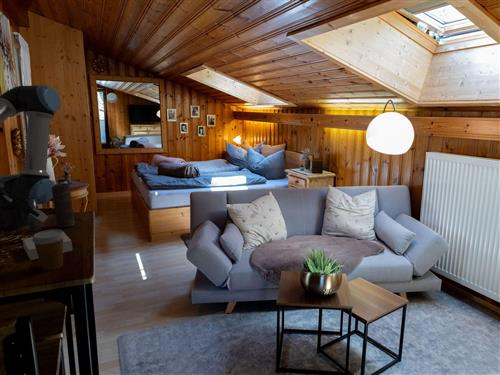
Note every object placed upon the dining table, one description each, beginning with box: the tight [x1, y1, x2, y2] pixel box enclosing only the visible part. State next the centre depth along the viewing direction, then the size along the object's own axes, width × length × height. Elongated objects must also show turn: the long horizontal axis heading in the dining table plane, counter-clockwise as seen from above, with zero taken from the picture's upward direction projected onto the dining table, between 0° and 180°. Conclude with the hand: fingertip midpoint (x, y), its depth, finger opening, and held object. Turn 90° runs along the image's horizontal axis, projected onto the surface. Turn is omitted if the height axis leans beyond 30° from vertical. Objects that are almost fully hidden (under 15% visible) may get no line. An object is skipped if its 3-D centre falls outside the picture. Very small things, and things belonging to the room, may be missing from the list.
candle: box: [52, 183, 76, 228], centre depth 162 cm, size 8×7×20 cm
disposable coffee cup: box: [32, 229, 64, 271], centre depth 122 cm, size 10×10×12 cm
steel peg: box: [25, 198, 42, 232], centre depth 147 cm, size 4×4×13 cm
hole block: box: [22, 230, 73, 261], centre depth 138 cm, size 14×14×4 cm
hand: (44, 217), depth 150 cm, fingers closed on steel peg, 4 cm apart
